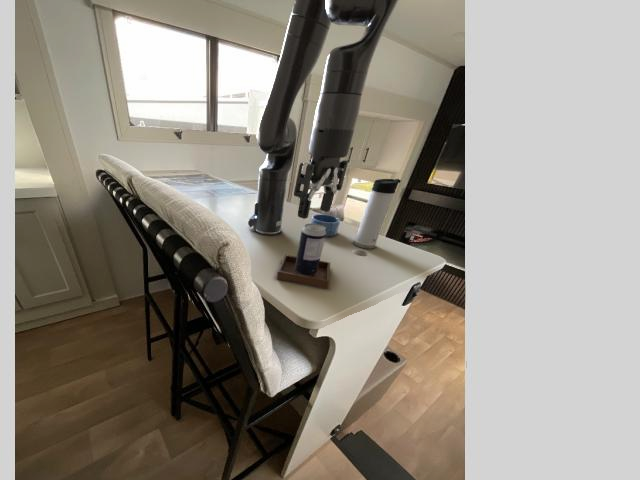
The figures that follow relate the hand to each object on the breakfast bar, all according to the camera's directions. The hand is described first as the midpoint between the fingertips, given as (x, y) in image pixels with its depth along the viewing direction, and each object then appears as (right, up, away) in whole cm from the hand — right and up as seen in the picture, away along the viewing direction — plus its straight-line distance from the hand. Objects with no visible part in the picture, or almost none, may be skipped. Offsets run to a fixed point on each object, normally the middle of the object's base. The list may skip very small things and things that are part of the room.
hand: (313, 214), depth 56 cm
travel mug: (+24, -1, +26) cm, 36 cm away
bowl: (+13, +5, +34) cm, 37 cm away
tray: (0, -12, +9) cm, 15 cm away
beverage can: (0, -12, +9) cm, 15 cm away
